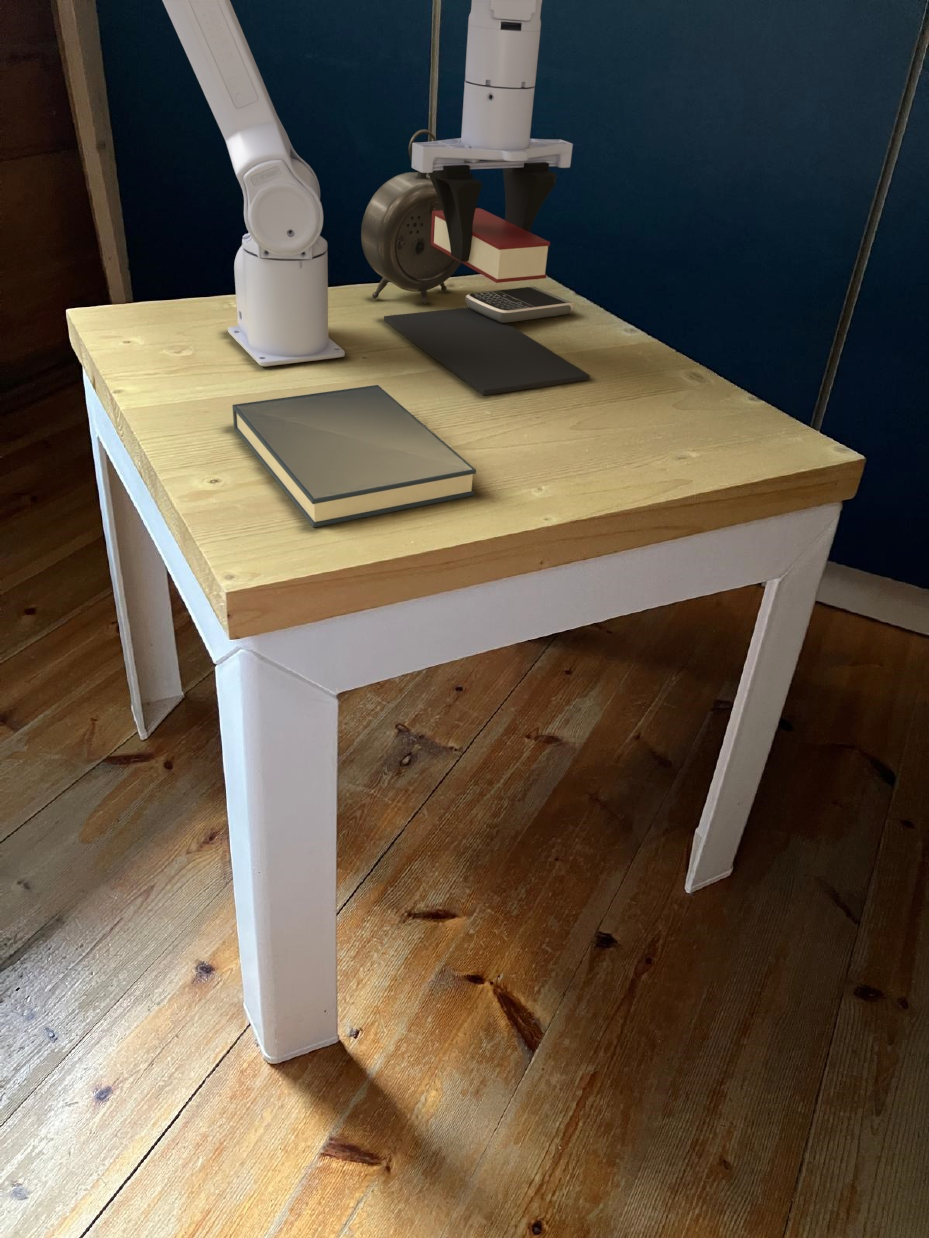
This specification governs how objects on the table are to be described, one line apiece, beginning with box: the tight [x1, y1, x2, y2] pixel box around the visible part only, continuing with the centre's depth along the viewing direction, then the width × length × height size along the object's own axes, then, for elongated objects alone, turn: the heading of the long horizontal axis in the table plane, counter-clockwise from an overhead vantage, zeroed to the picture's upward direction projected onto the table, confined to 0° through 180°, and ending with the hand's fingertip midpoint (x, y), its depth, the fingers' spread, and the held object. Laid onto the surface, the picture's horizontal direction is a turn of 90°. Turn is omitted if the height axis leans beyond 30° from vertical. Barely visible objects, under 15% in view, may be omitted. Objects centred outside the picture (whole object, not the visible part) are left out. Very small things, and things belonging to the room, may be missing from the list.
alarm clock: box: [360, 129, 462, 304], centre depth 99 cm, size 11×5×16 cm, turn 123°
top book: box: [431, 207, 551, 284], centre depth 86 cm, size 12×5×3 cm, turn 29°
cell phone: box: [465, 286, 576, 324], centre depth 101 cm, size 6×11×1 cm, turn 130°
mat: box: [383, 306, 590, 396], centre depth 93 cm, size 20×11×1 cm, turn 29°
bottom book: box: [231, 384, 477, 528], centre depth 71 cm, size 16×12×2 cm
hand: (486, 256), depth 87 cm, fingers closed on top book, 5 cm apart
